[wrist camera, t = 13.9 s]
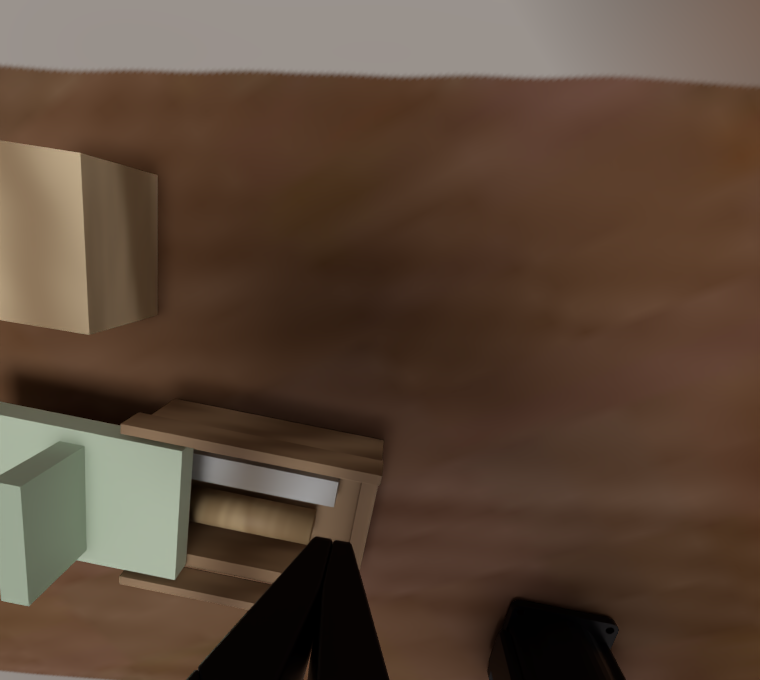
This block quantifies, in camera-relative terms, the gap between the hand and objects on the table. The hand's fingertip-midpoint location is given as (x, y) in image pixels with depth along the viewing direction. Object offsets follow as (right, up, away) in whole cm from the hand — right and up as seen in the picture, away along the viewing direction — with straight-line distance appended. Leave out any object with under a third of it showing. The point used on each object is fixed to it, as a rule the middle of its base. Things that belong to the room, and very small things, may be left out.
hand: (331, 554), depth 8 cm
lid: (-15, -2, +11) cm, 18 cm away
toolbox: (-5, -3, +14) cm, 15 cm away
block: (-12, +10, +11) cm, 19 cm away
